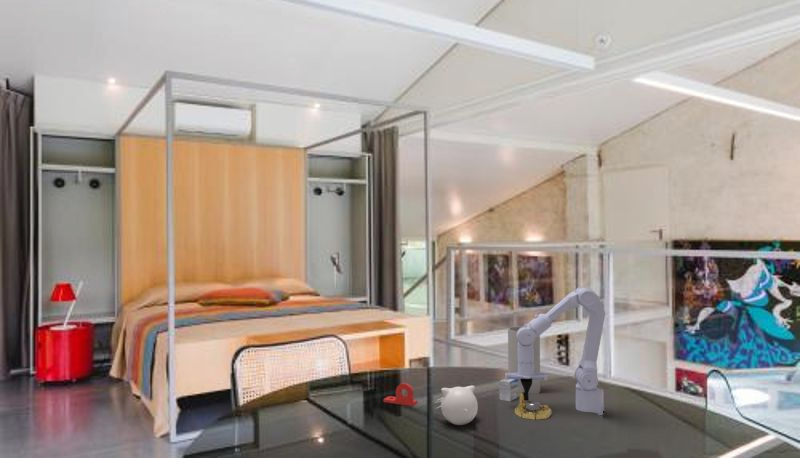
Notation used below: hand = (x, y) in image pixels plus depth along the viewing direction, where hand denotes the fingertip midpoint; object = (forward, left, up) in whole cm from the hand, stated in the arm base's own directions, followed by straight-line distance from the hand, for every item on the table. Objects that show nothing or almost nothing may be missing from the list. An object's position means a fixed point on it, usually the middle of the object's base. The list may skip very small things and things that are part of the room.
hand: (526, 399), depth 200 cm
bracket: (+46, +8, -5) cm, 47 cm away
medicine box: (+8, -9, -4) cm, 13 cm away
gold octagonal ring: (-3, +5, -3) cm, 7 cm away
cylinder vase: (+6, -25, -4) cm, 26 cm away
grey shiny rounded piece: (-4, +6, -4) cm, 8 cm away
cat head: (+17, +22, -4) cm, 29 cm away
